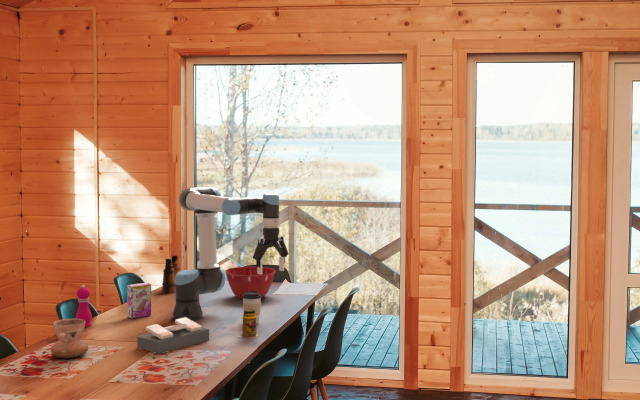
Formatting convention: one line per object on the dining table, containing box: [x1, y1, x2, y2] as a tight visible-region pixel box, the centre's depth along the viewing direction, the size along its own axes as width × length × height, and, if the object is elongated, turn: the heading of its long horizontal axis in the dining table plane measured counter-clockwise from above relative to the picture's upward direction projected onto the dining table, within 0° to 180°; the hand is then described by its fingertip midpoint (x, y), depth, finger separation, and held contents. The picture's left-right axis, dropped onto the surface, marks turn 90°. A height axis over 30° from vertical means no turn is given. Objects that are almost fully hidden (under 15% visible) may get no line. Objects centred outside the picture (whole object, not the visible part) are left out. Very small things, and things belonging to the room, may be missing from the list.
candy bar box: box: [126, 282, 152, 320], centre depth 365 cm, size 11×5×16 cm, turn 135°
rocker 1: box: [144, 323, 173, 340], centre depth 308 cm, size 11×6×2 cm, turn 51°
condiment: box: [236, 309, 260, 339], centre depth 328 cm, size 7×8×12 cm
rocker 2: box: [163, 324, 187, 332], centre depth 314 cm, size 11×6×2 cm, turn 51°
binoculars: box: [161, 255, 181, 295], centre depth 430 cm, size 18×8×20 cm, turn 171°
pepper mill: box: [75, 284, 93, 329], centre depth 344 cm, size 7×7×20 cm
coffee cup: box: [242, 291, 262, 325], centre depth 353 cm, size 9×9×15 cm
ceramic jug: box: [50, 318, 89, 359], centre depth 297 cm, size 18×14×14 cm
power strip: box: [136, 326, 210, 355], centre depth 316 cm, size 14×31×6 cm, turn 141°
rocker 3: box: [174, 317, 203, 332], centre depth 321 cm, size 11×6×2 cm, turn 51°
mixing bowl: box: [224, 266, 276, 300], centre depth 412 cm, size 28×28×16 cm
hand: (270, 272), depth 340 cm, fingers open, 13 cm apart
